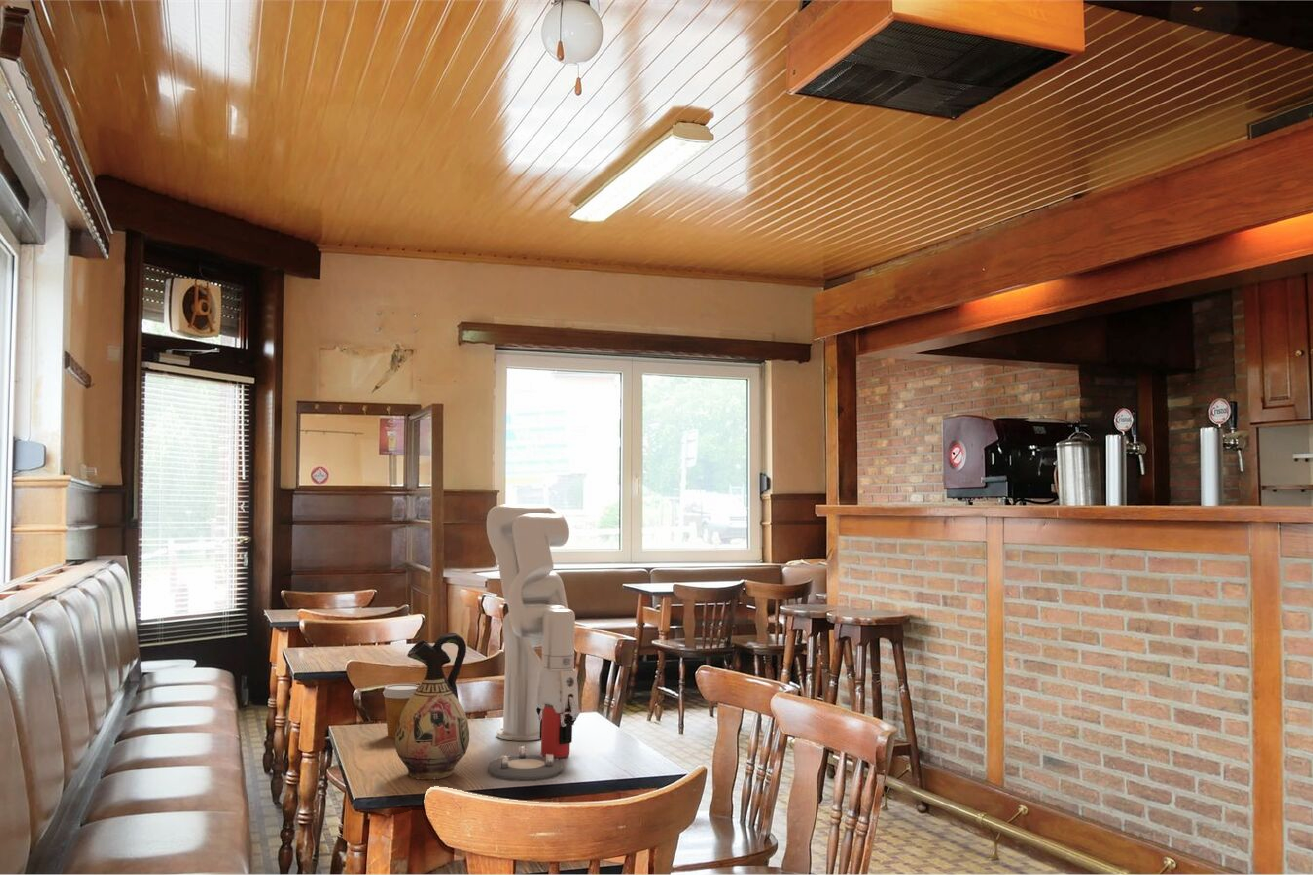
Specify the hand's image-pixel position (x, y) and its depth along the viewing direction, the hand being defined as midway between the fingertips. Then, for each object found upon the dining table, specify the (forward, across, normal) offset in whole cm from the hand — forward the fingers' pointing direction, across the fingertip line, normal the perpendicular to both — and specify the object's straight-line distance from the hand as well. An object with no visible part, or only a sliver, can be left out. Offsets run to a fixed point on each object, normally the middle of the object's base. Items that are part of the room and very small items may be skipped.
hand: (555, 739), depth 237 cm
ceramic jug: (+4, +3, +30) cm, 30 cm away
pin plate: (+4, -6, +14) cm, 15 cm away
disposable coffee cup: (+4, +41, +16) cm, 44 cm away
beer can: (+4, 0, 0) cm, 4 cm away
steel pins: (+2, -6, +15) cm, 16 cm away
